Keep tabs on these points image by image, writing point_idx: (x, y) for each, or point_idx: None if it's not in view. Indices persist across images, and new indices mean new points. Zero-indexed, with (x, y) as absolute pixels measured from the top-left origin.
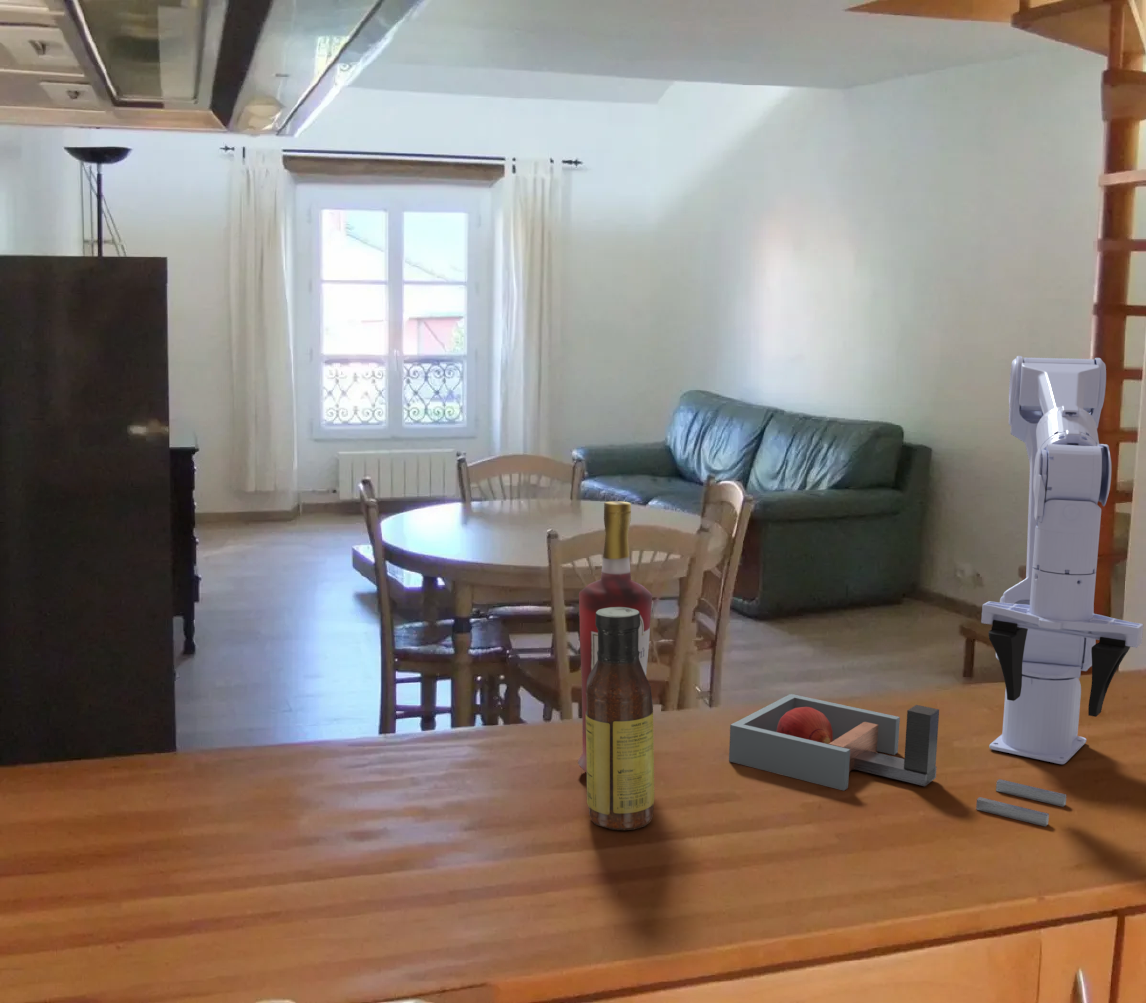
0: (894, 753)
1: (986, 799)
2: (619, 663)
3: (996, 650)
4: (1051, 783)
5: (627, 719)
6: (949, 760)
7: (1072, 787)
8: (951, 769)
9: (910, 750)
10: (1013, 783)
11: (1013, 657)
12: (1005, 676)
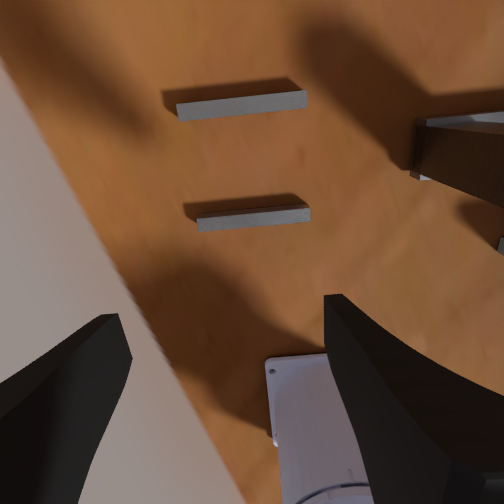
0: (502, 239)
1: (292, 104)
2: None
3: (483, 390)
4: (253, 291)
5: None
6: (411, 276)
7: (224, 297)
8: (398, 243)
9: (492, 124)
10: (284, 219)
11: (381, 393)
12: (376, 327)
